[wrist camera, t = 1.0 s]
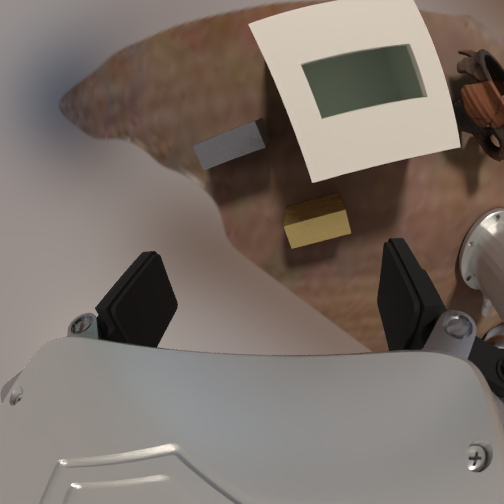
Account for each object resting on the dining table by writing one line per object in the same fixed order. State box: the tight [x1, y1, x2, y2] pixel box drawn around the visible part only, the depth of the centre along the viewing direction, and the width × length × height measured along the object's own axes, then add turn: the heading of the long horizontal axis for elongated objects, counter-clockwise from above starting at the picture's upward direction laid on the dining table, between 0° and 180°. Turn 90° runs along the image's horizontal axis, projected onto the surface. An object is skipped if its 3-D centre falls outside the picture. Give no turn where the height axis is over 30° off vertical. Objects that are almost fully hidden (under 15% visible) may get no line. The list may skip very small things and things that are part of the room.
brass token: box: [284, 193, 351, 249], centre depth 28 cm, size 2×6×5 cm, turn 111°
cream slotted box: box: [248, 0, 461, 183], centre depth 18 cm, size 12×12×10 cm
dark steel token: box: [193, 118, 270, 170], centre depth 25 cm, size 2×6×5 cm, turn 111°
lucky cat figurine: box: [484, 323, 504, 351], centre depth 31 cm, size 15×12×14 cm
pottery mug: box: [452, 49, 504, 161], centre depth 17 cm, size 12×10×8 cm
